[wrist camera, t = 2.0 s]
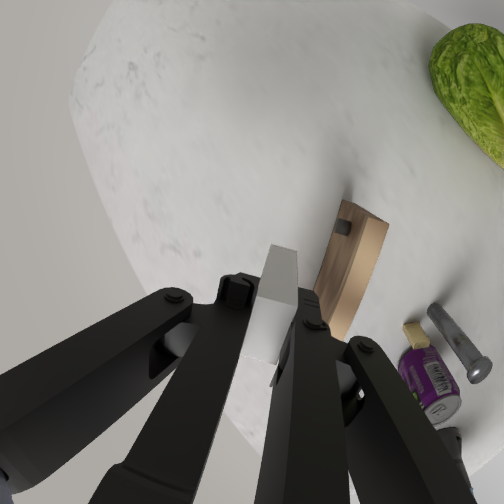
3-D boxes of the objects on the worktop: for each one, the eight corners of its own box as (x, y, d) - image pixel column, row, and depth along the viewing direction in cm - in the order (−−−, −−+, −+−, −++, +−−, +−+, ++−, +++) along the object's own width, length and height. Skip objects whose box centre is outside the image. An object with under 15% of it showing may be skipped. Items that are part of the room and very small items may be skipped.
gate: (317, 316, 35) (323, 378, 23) (296, 311, 35) (294, 372, 24) (356, 203, 30) (389, 224, 19) (332, 196, 30) (354, 212, 19)
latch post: (440, 318, 33) (486, 380, 19) (423, 321, 34) (466, 387, 20) (444, 298, 32) (496, 357, 18) (426, 301, 33) (475, 364, 19)
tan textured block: (416, 327, 34) (428, 346, 30) (402, 329, 35) (413, 349, 30) (417, 321, 34) (430, 340, 29) (403, 324, 34) (414, 343, 30)
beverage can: (388, 367, 37) (407, 423, 25) (419, 334, 35) (450, 386, 23) (413, 381, 37) (433, 433, 26) (442, 352, 35) (471, 400, 23)
